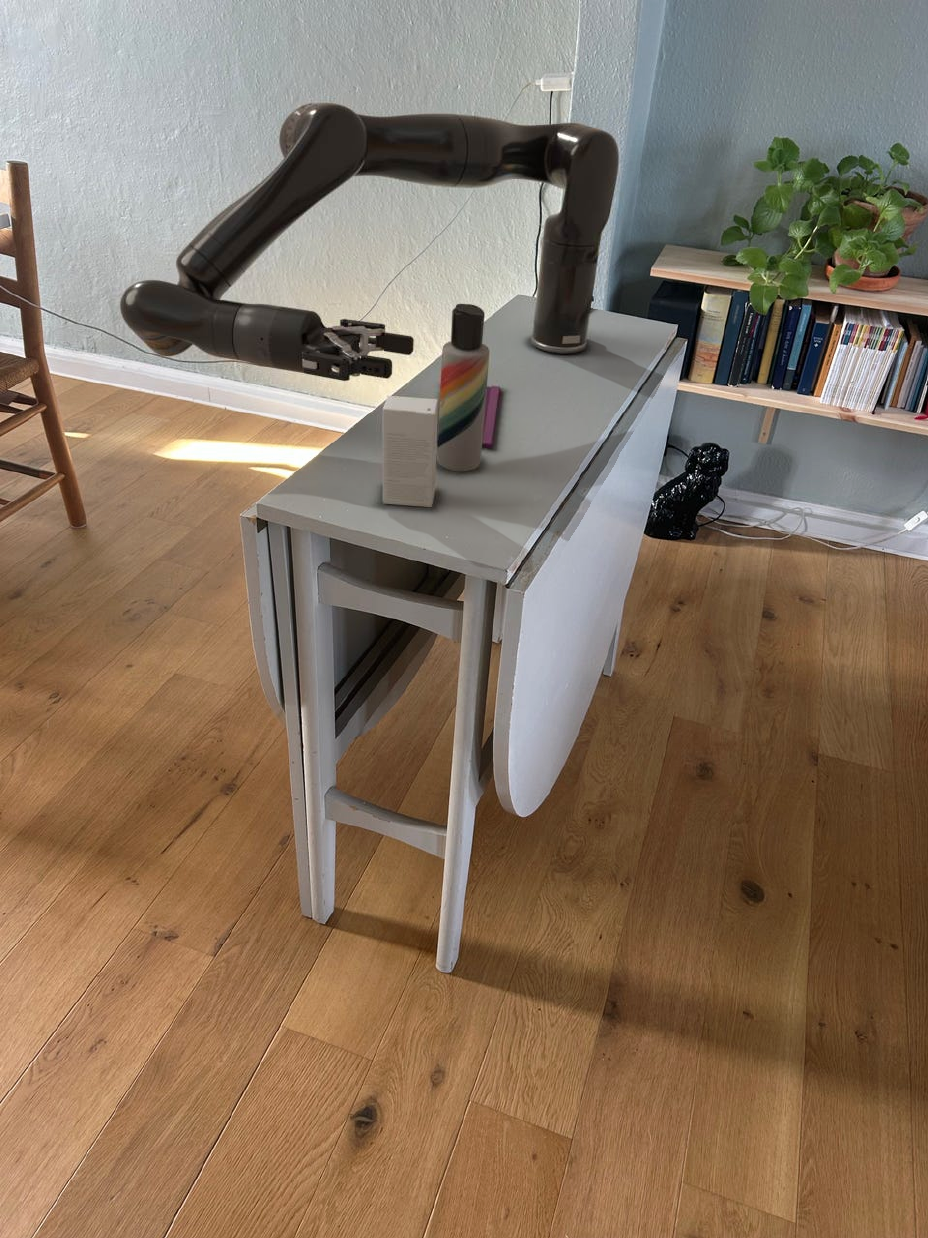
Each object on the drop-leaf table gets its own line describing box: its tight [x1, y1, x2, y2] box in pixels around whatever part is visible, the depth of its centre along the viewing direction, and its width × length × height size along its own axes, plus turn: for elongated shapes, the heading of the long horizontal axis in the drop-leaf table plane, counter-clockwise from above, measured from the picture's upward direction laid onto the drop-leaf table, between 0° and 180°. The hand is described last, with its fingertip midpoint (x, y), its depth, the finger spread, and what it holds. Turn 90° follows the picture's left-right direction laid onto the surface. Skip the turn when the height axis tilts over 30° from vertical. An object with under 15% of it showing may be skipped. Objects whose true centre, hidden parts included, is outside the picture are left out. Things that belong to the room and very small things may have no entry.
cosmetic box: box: [381, 395, 439, 508], centre depth 104 cm, size 6×4×12 cm
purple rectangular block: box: [437, 385, 502, 449], centre depth 127 cm, size 20×8×1 cm, turn 175°
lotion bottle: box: [436, 303, 490, 472], centre depth 110 cm, size 6×6×20 cm
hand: (402, 357), depth 109 cm, fingers open, 8 cm apart
